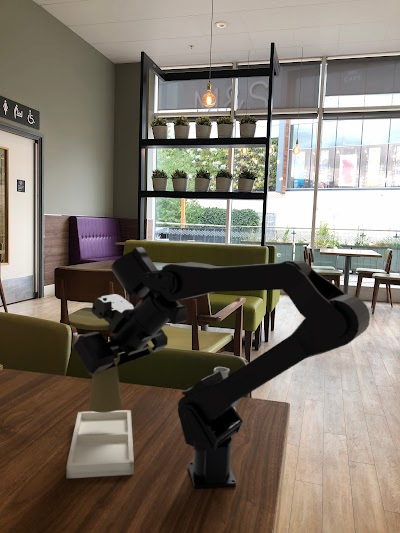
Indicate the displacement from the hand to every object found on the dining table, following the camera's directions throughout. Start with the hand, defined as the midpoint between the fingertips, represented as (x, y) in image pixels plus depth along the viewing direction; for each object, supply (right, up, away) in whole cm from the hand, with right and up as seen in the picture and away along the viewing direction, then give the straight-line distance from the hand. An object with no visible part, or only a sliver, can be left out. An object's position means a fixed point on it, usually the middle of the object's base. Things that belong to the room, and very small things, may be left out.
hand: (100, 369), depth 82 cm
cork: (+1, -7, 0) cm, 7 cm away
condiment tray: (+1, -12, -4) cm, 13 cm away
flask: (+22, -12, +10) cm, 27 cm away
